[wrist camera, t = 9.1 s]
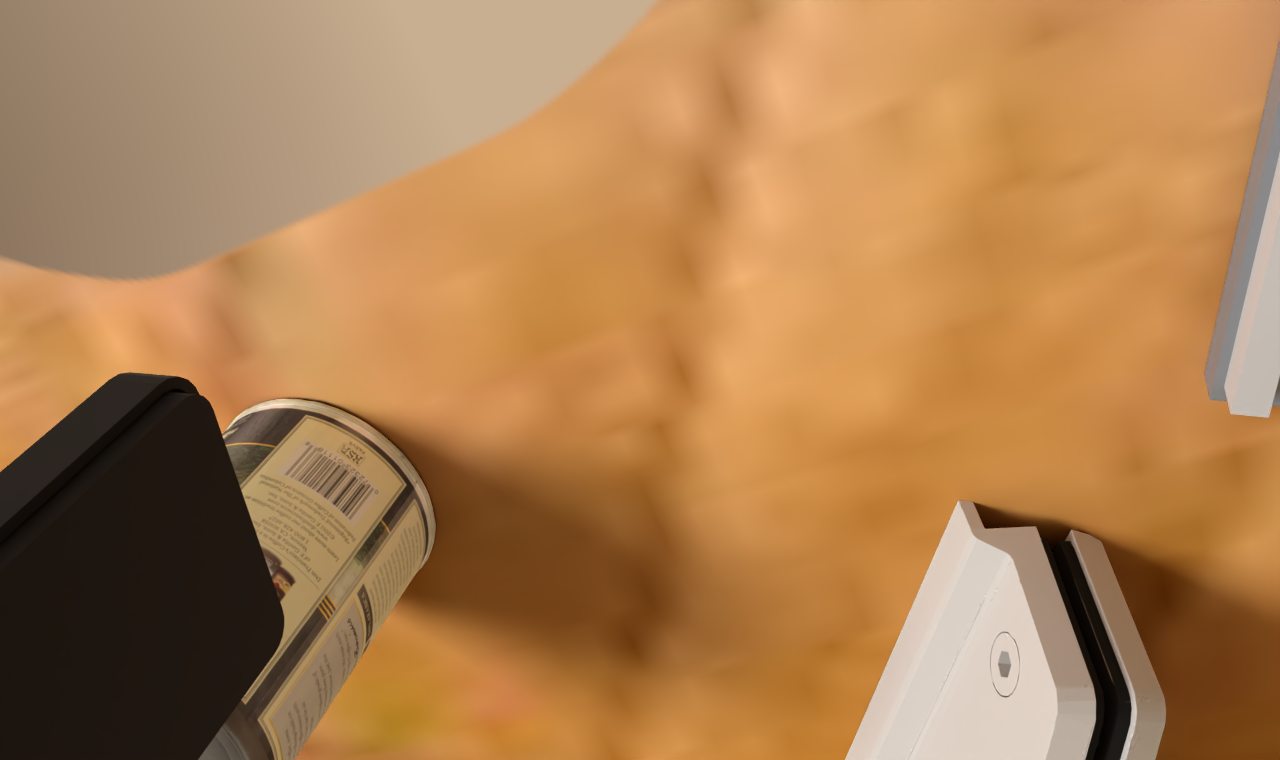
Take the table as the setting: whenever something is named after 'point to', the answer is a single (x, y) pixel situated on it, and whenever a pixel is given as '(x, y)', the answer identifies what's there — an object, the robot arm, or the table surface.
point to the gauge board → (1253, 284)
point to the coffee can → (320, 559)
